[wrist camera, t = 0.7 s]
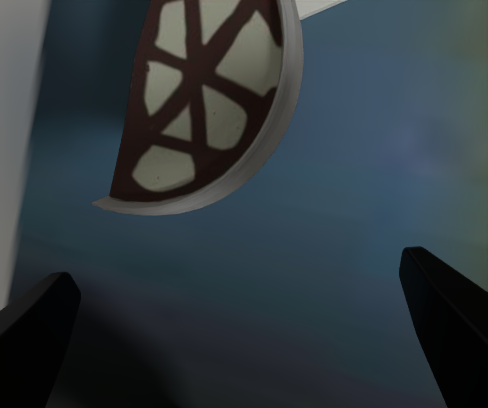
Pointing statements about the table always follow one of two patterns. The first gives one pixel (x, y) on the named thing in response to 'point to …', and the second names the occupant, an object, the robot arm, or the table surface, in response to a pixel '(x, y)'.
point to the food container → (205, 102)
